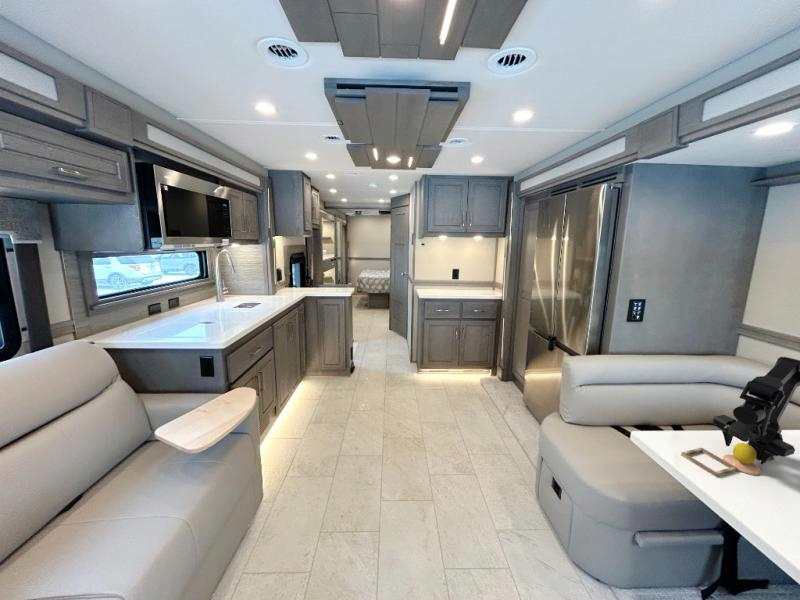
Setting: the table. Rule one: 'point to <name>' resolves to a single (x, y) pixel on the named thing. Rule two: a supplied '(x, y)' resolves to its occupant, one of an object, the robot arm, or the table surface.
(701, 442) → the table surface
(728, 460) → the saucer
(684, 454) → the wooden picture frame
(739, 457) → the lemon
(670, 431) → the table surface
